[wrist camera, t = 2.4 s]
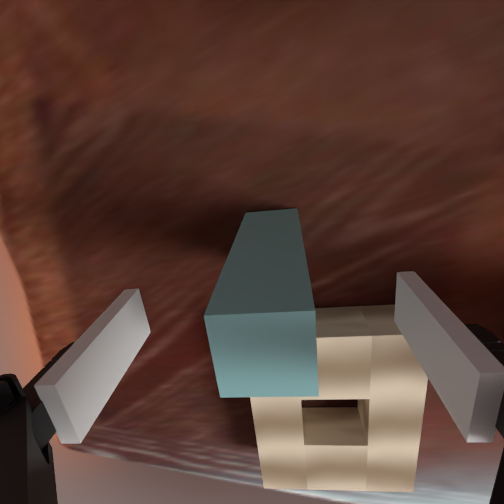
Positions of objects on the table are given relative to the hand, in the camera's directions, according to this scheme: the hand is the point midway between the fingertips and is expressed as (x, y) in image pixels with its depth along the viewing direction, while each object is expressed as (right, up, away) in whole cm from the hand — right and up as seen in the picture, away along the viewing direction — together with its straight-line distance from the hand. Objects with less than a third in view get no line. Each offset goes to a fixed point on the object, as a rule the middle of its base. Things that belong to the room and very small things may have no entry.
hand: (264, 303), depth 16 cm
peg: (+1, +4, +9) cm, 10 cm away
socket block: (+7, -10, +14) cm, 19 cm away
